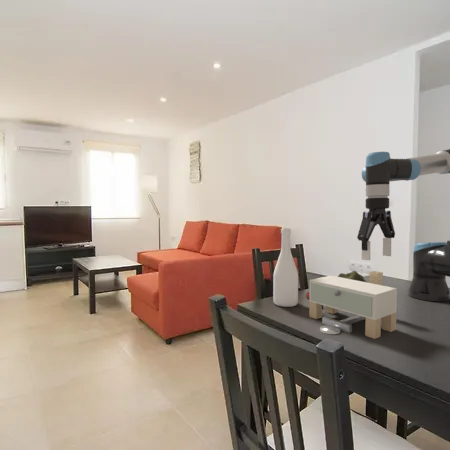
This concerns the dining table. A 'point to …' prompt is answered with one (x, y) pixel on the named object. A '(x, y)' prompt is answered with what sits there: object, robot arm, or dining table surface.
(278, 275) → the wine bottle
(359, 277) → the decorative rock
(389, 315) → the cabinet
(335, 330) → the steel disc
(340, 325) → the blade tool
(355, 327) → the dining table surface
